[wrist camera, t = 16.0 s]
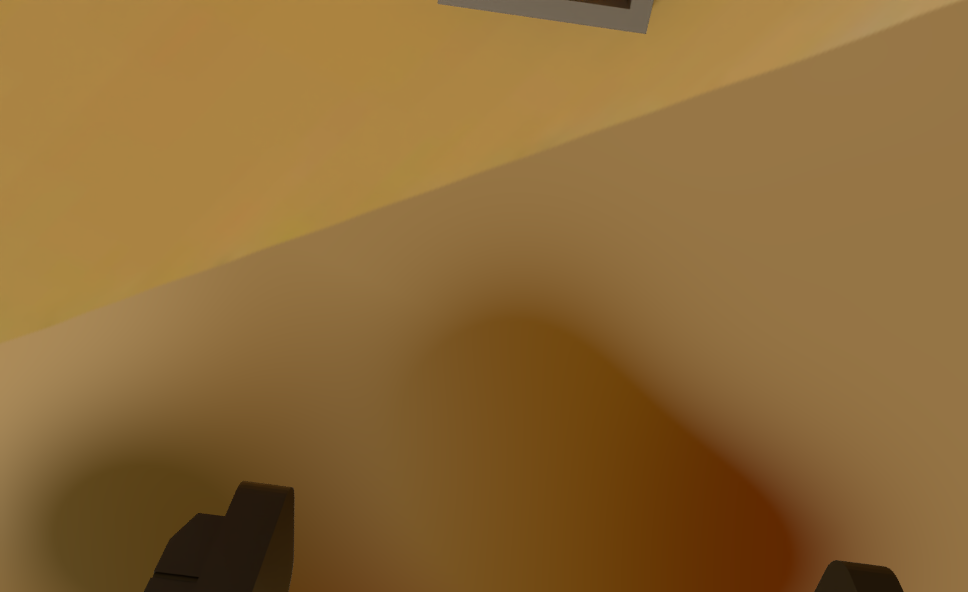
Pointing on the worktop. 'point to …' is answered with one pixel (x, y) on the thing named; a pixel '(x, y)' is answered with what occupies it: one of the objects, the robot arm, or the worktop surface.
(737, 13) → the worktop surface
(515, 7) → the holder
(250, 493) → the robot arm
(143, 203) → the worktop surface
